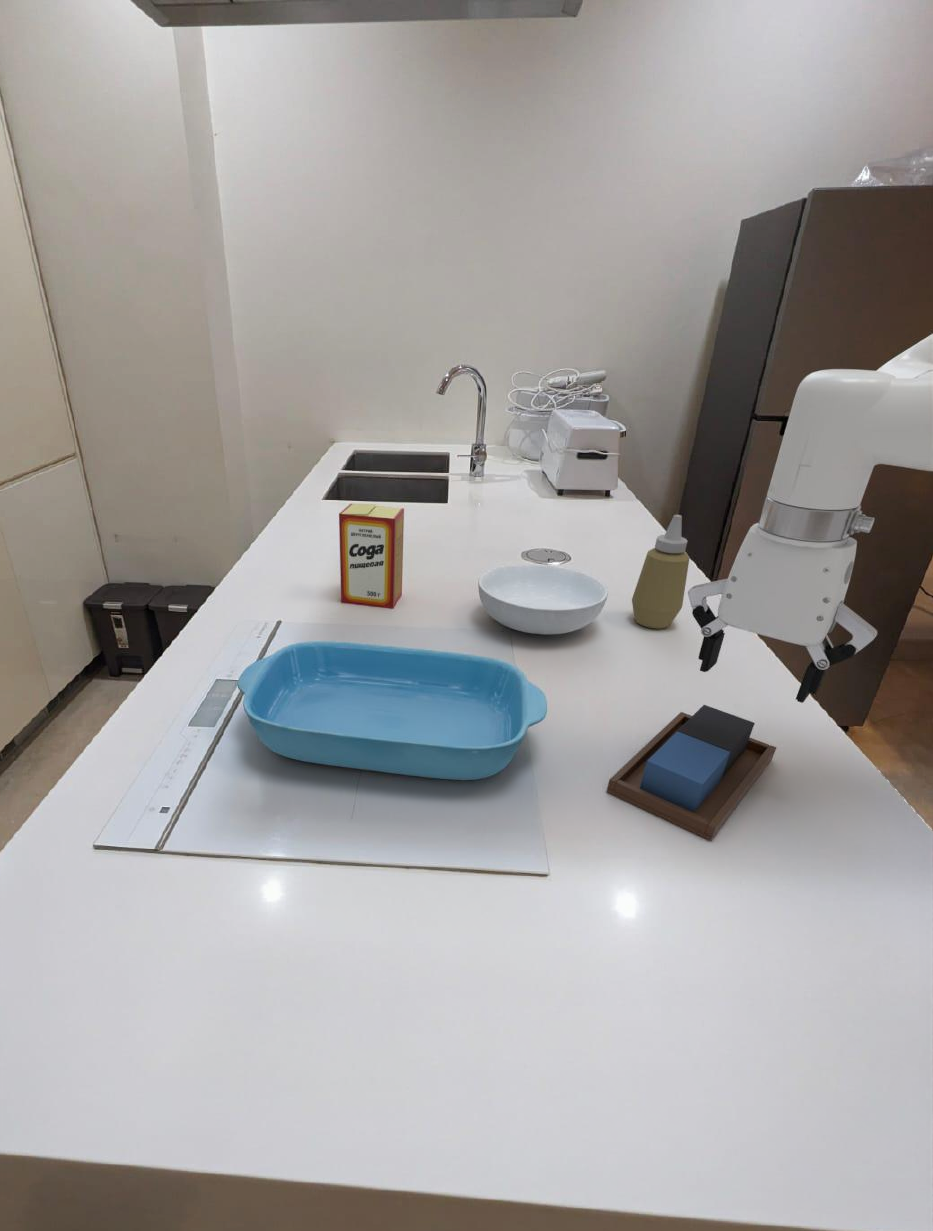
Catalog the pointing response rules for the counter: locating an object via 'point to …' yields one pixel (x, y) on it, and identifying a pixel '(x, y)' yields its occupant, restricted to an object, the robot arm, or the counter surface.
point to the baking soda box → (371, 554)
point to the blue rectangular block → (684, 771)
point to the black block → (720, 731)
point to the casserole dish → (391, 708)
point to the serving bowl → (541, 597)
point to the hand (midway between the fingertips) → (753, 681)
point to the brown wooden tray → (717, 802)
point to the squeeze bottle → (662, 579)
